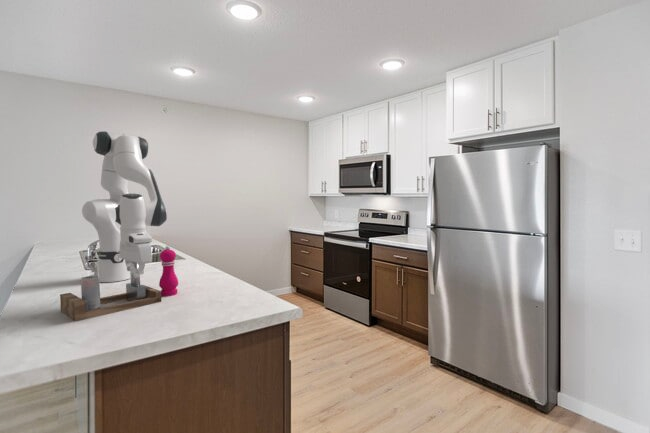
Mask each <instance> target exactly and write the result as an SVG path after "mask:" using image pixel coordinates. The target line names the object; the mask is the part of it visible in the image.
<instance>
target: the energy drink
mask: <svg viewBox="0 0 650 433" xmlns="http://www.w3.org/2000/svg"><path fill="white" fill-rule="evenodd" d="M80 291H81V292H80V293H81V299H83V300H84V301H85V307H86V311H89V310H94V309H99V308H101V305H100V298H101V292H100V282H99V277H98V276H90V275H87V276H84V277H83V276H82V277H81V278H80Z"/></svg>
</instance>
